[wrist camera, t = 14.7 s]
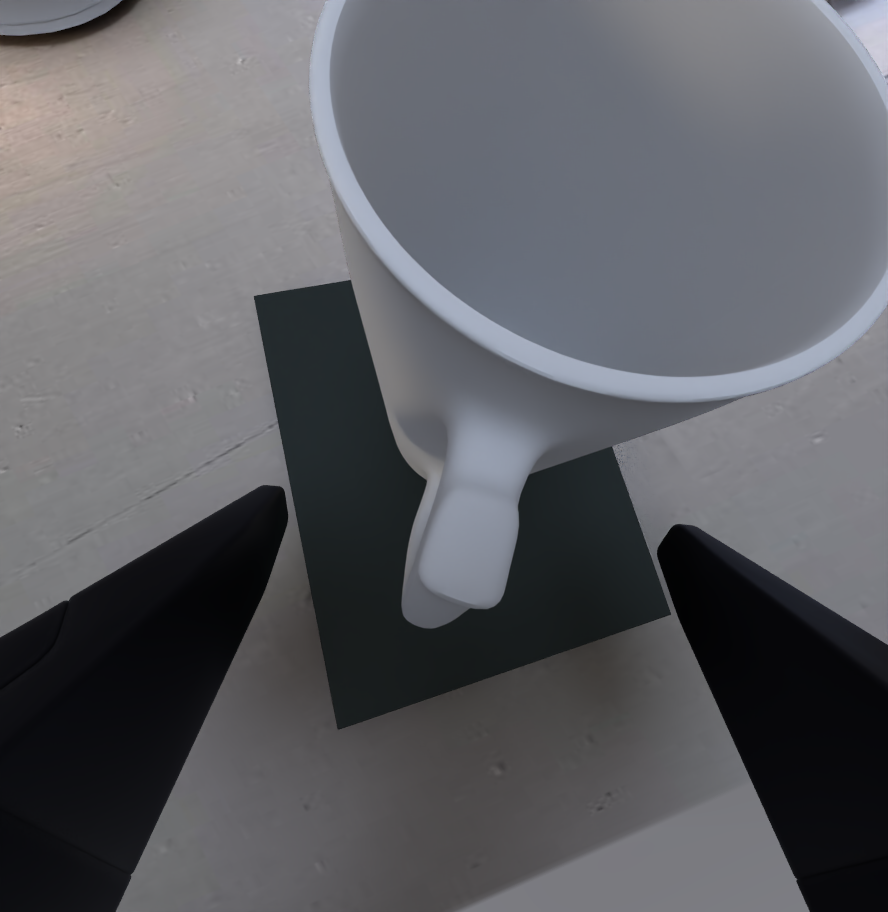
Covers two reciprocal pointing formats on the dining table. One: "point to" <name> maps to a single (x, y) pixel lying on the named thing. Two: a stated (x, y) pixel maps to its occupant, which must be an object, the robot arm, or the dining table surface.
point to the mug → (589, 231)
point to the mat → (391, 520)
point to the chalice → (48, 14)
